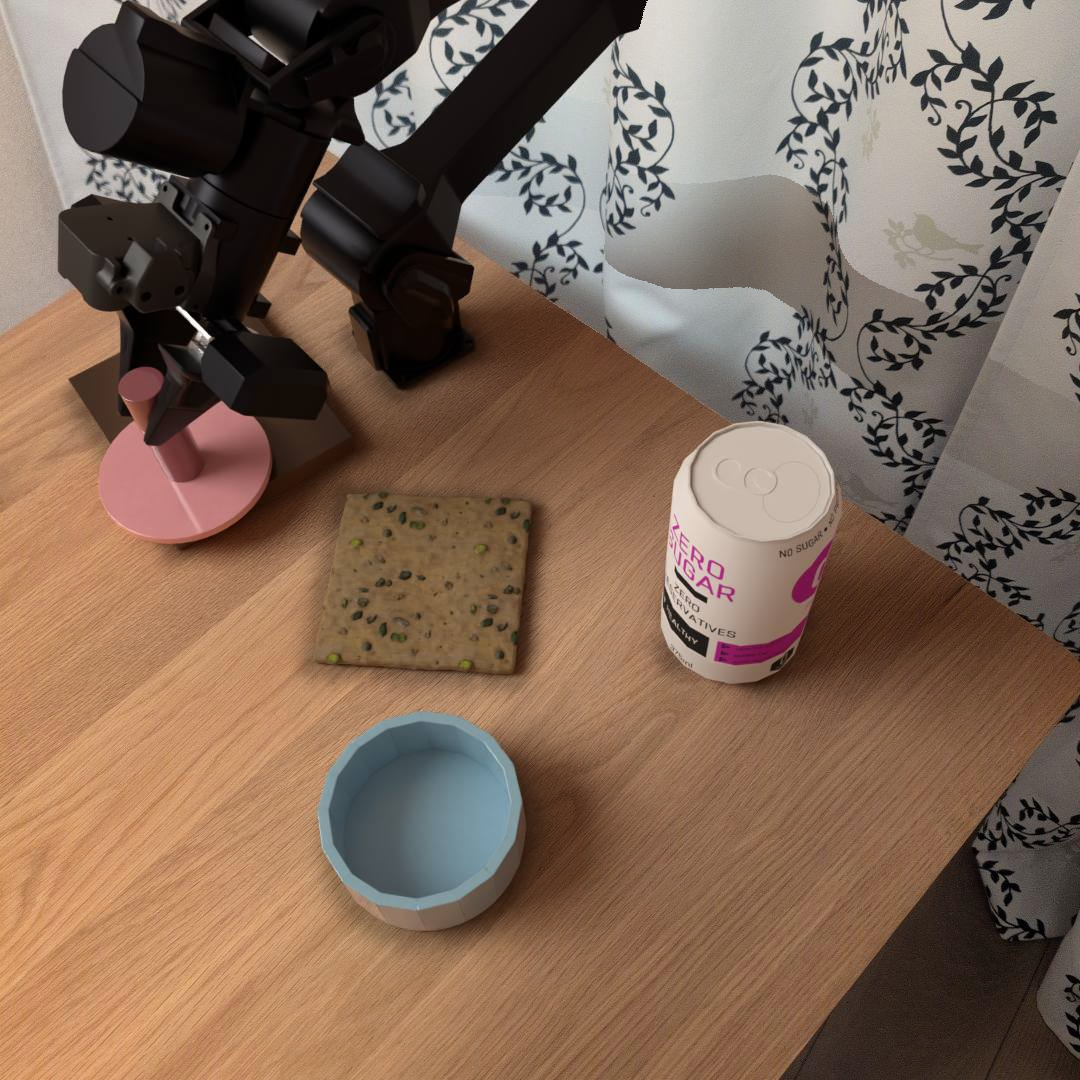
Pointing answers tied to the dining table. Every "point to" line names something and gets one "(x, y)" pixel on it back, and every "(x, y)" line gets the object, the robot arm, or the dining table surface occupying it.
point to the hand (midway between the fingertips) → (138, 429)
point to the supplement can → (746, 549)
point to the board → (291, 440)
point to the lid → (182, 469)
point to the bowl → (423, 820)
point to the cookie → (426, 583)
